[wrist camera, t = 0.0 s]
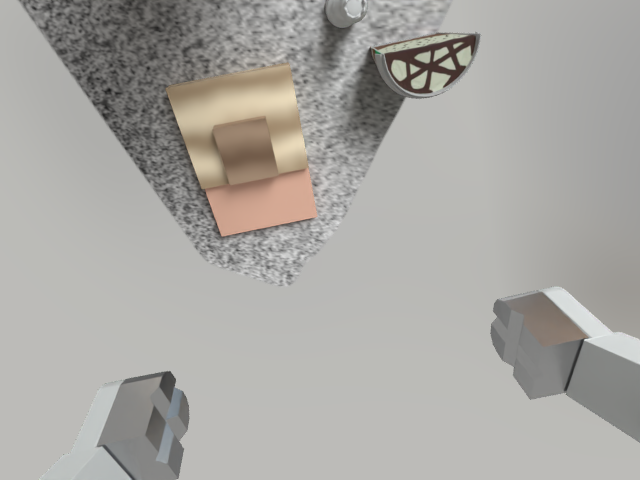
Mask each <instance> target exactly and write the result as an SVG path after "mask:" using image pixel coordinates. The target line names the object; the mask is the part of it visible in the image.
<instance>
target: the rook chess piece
mask: <svg viewBox="0 0 640 480" xmlns="http://www.w3.org/2000/svg"><path fill="white" fill-rule="evenodd" d="M367 9H368V2H367V0H327V1H326V4H325V11H326V15H327V18H328V20H329V21H330V22H331V23H332V24H333V25H334V26H336V27H338V28H346V27H348V26H350V25H352V24H353V23H357V22H359V21H361V20H362V19H363V17H364V16H365V15H366V12H367Z"/></svg>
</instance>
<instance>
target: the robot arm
mask: <svg viewBox="0 0 640 480" xmlns="http://www.w3.org/2000/svg"><path fill="white" fill-rule="evenodd" d="M493 312H494V313H495V314H496V315H497V318H496V319H495V320H494V322H493V323H492V324H491V338H492V342H493V345H494V347H495V349H496V351H497V353H498V354H499V356H500V358H501V359H502V360H503V361H504V362H506V363H508V364H510V365H512V366H513V367H514V372H513V376H514V378H515V379H516V380H517V382H518V383H519V385H520V386H521V387H522V389H523V390H524V392H525V393H526V395H527V396H528V397H529V399H530V400H531V399H536V398H541V397H546V396H551V395H556V394H561V393H566V395H567V396H569V397H570V398H572V399H573V400H575V401H576V402H578V403H579V404H581V405H583V406H584V407H586V408H587V409H589V410H590V411H592V412H593V413H595V414H597V415H598V416H599V417H601V418H603V419H604V420H606V421H607V422H609V423H610V424H612V425H613V426H615V427H617V428H618V429H620V430H621V431H623V432H624V433H626V434H627V435H629V436H631V437H632V438H634V439H635V440H637V441H638V442H640V339H637V338H634V337H632V336H629V335H627V334H624V333H622V332H616V333H613V332H612V331H611V330H609V329H608V328H607V327H606V326H605V325H604V324H603V323H602V322H600V321H599V320H598V319H597V318H596V317H595V316H593V314H591V313H590V312H589V311H588V310H587V309H586V308H584V306H582V305H581V304H580V303H579V302H578V301H577V300H576V299H575V298H573V297H572V296H571V295H570V294H569V293H568V292H567V291H566V290H564V289H563V288H561V287H558V286H555V287H551V288H546V289H541V290H537V291H532V292H527V293H523V294H518V295H514V296H510V297H505V298H501V299H497V300H496V302H495V303H494V308H493ZM175 383H176V379H175V378H174V376H173V374H172V373H171V372H170V371H166V372H161V373H155V374H150V375H145V376H140V377H134V378H129V379H125V380H120V381H115V382H110V383H105V384H104V385H103V386H102V387H101V388H100V389H99V390H98V392H97V394H96V396H95V399H94V401H93V403H92V405H91V408H90V410H89V412H88V414H87V417H86V419H85V421H84V423H83V425H82V428H81V430H80V432H79V435H78V437H77V439H76V441H75V444H74V446H73V448H72V450H71V452H70V453H68V454H65V455H63V456H62V457H61V458H60V459H59V460H58V461H57V462H56V463H55V464H54V465H53V466H52V467H51V468H50V469H49V470H48V471H47V472H46V473H45V474H44V475H43V476H42V477H41V478H40V479H39V480H176V479H178V478H179V473H180V467H181V462H182V457H183V451H184V448H183V447H182V445H181V443H180V442H179V441H180V439H181V438H182V437H183V435H184V434H185V433H186V431H187V429H188V423H189V405H188V402H187V398H186V396H185V395H184V393H183V391H181V390H179V389H177V388H175Z"/></svg>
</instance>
